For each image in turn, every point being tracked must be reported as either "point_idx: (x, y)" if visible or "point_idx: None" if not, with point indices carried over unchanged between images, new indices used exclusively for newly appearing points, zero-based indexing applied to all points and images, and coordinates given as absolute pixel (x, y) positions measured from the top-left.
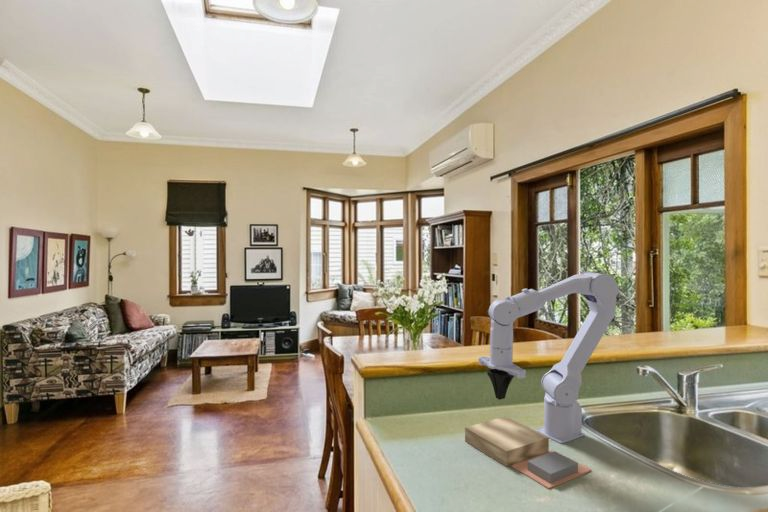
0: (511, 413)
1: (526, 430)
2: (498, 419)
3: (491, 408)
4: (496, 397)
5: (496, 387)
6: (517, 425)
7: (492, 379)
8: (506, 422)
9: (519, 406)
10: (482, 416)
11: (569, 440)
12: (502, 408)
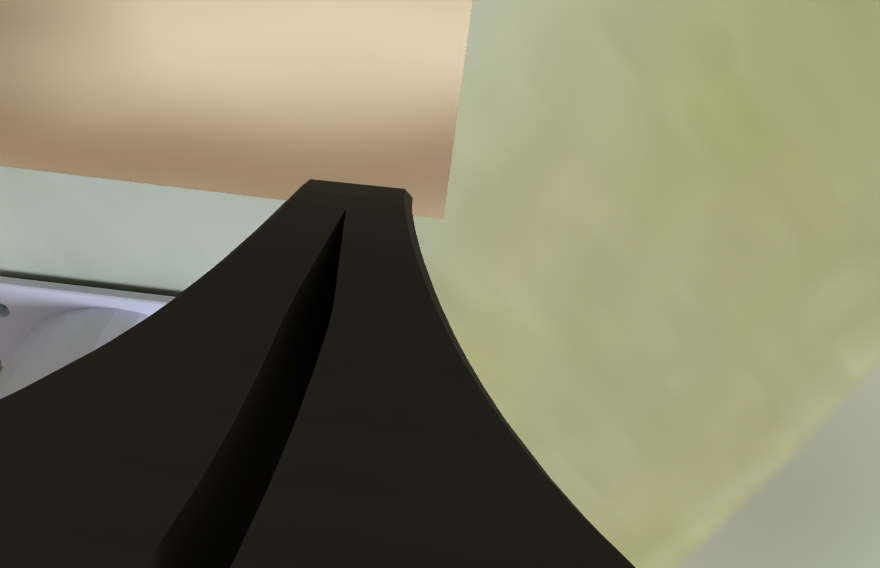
0: (628, 435)
1: (16, 91)
2: (430, 80)
3: (827, 403)
4: (383, 192)
5: (333, 320)
6: (173, 121)
7: (399, 442)
8: (307, 88)
9: (655, 554)
10: (812, 216)
11: (4, 356)
12: (744, 458)
